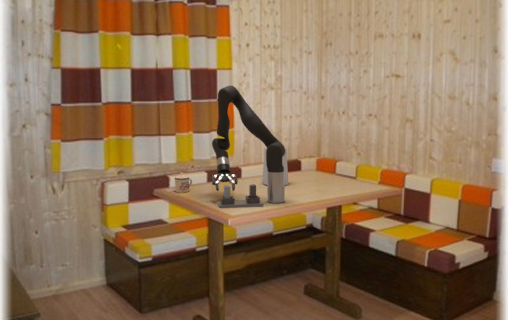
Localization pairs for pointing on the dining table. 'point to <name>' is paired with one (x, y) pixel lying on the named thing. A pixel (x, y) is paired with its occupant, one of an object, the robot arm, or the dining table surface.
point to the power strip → (250, 200)
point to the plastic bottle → (284, 162)
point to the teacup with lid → (182, 183)
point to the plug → (227, 192)
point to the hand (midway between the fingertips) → (225, 190)
